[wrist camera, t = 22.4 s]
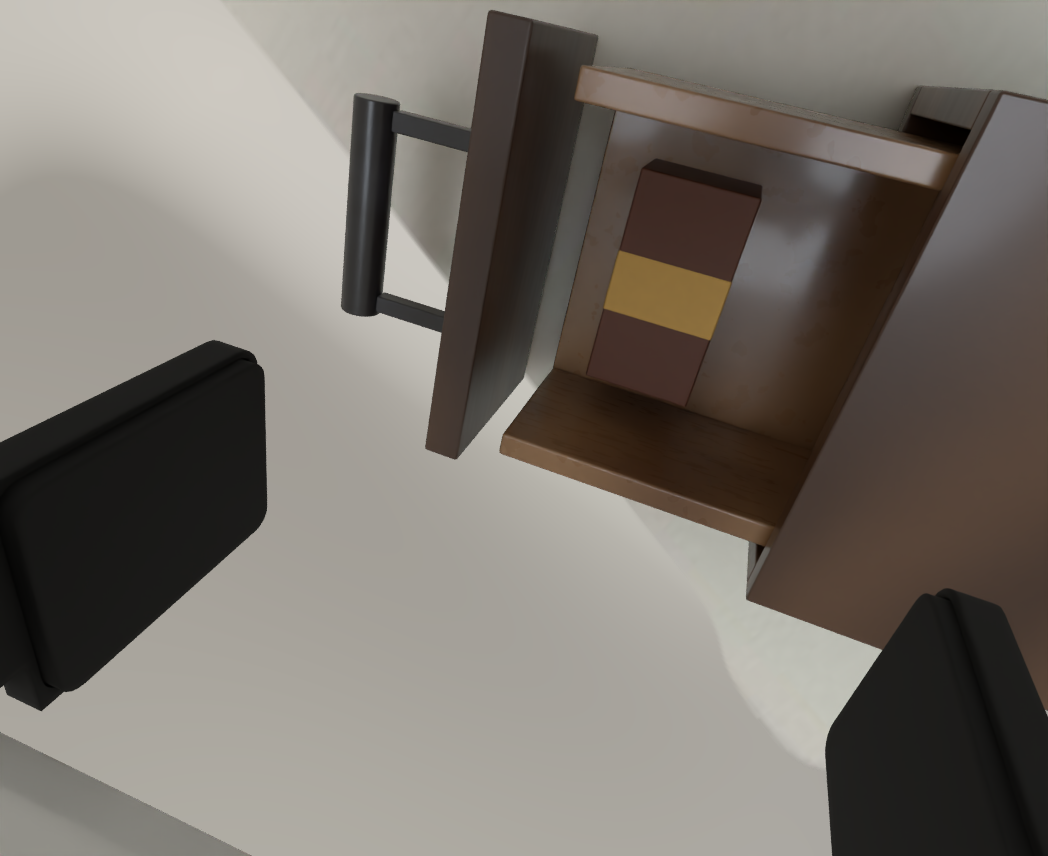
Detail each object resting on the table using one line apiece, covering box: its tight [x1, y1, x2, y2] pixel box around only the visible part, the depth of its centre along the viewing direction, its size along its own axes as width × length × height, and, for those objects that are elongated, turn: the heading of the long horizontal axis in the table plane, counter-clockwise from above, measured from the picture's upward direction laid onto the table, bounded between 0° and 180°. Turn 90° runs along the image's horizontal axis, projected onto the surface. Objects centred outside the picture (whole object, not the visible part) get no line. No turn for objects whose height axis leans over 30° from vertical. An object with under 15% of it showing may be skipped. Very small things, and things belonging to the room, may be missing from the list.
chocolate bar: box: [586, 158, 762, 407], centre depth 23 cm, size 4×7×3 cm, turn 168°
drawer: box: [341, 10, 963, 546], centre depth 22 cm, size 18×13×7 cm
